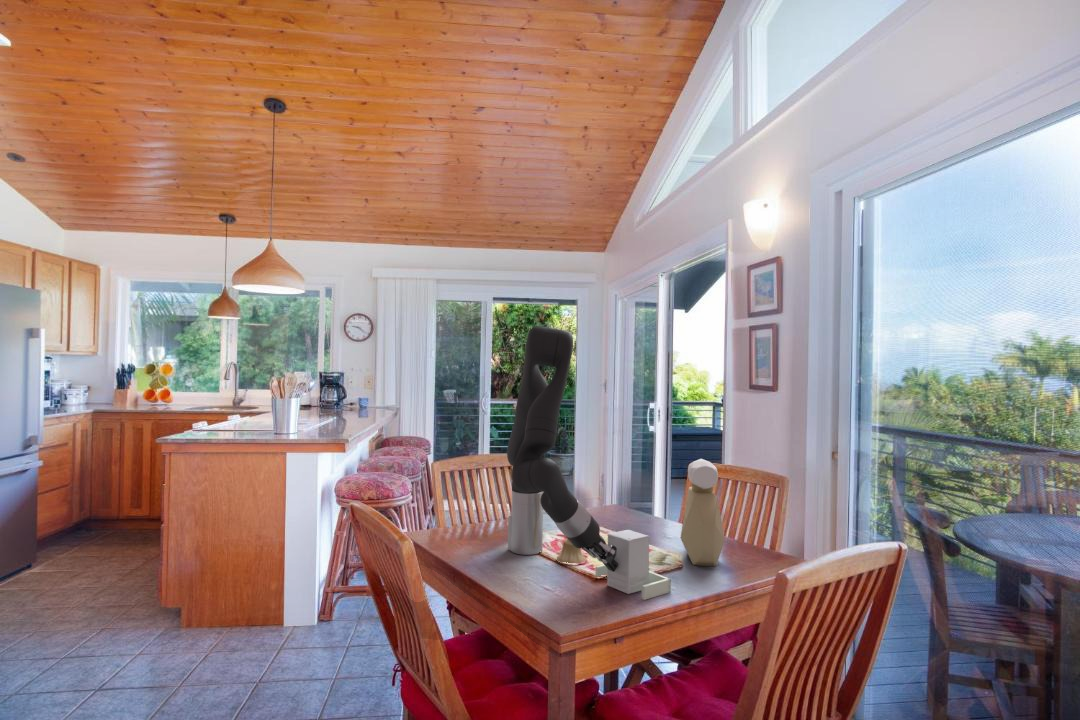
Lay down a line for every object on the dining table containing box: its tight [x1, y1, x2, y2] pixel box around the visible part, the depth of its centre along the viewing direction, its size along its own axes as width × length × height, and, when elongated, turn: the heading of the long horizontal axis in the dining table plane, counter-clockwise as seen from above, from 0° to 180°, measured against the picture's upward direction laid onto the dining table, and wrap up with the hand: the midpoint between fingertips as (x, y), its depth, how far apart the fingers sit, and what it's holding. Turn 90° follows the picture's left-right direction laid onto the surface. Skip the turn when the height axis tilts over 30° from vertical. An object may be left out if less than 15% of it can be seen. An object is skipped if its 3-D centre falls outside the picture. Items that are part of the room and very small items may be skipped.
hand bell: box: [556, 538, 587, 563], centre depth 160 cm, size 8×8×16 cm
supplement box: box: [606, 529, 650, 595], centre depth 141 cm, size 7×7×13 cm
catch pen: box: [595, 564, 672, 601], centre depth 142 cm, size 9×17×3 cm, turn 36°
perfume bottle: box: [680, 458, 726, 567], centre depth 163 cm, size 12×24×28 cm, turn 173°
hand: (614, 567), depth 139 cm, fingers closed
